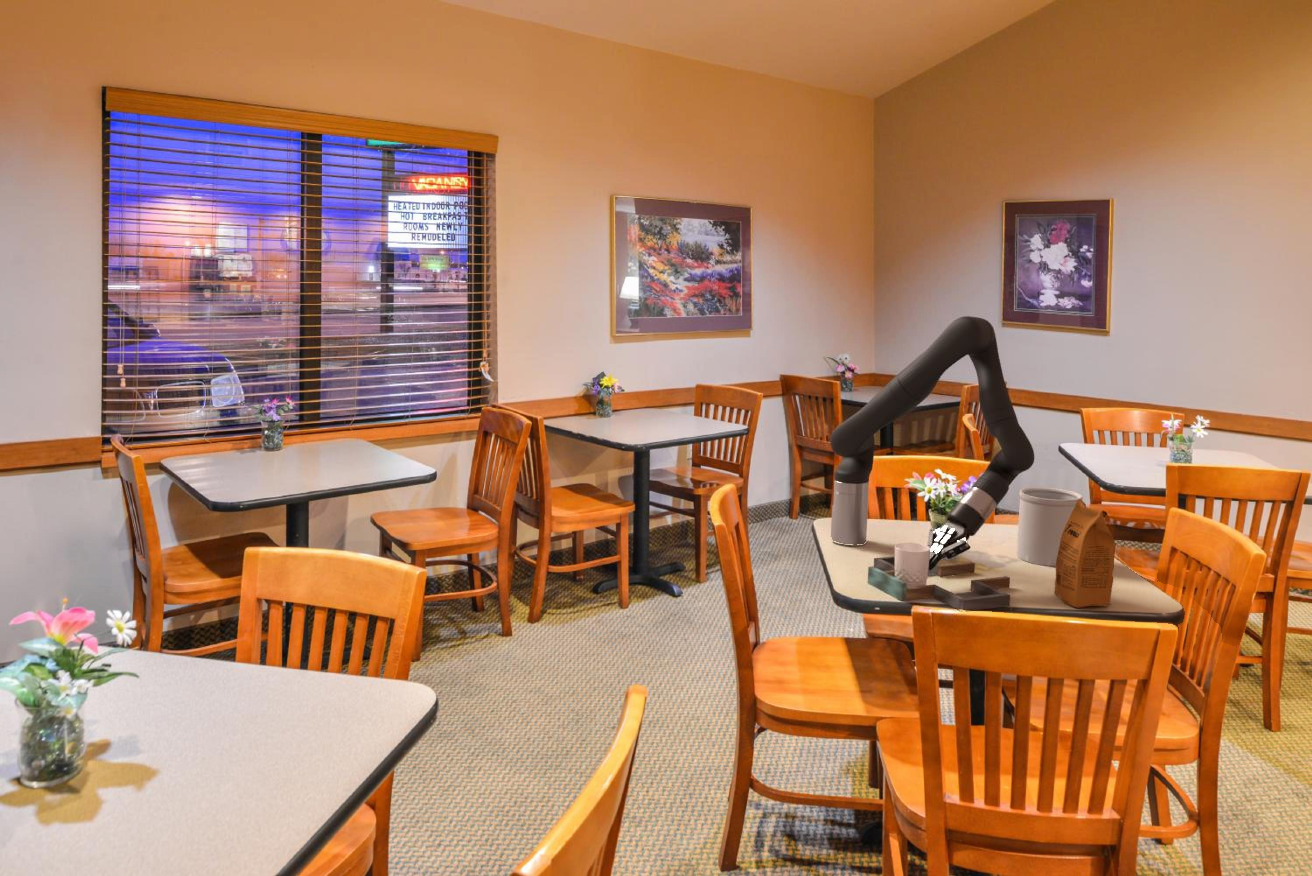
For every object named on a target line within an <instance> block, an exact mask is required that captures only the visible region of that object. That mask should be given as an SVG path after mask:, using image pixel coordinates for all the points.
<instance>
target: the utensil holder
mask: <svg viewBox="0 0 1312 876" xmlns="http://www.w3.org/2000/svg"><path fill="white" fill-rule="evenodd" d="M1078 500H1082V501H1083V495H1082V494H1080V493H1079V492H1076V491H1072V490H1068V489H1064V488H1063V489H1062V488H1056V487H1047V486H1044V487H1043V486H1037V487H1036V486H1034V487H1033V486H1032V487H1031V486H1030V487H1024V488H1020V489H1019V507H1018V508H1019V509H1018V510H1019V511H1018V528H1017V541H1016V542H1017V546H1016V548H1017V549H1016V555H1017V558H1018V559H1020V560H1021V561H1024V562H1027V563H1031V564H1034V565H1039V566H1045V567H1056V559H1057V555H1058V550H1059V545H1060V540H1061V537H1062V533H1063V531H1064V528H1065V525H1066V523H1067V521H1068V520H1069V518H1070V515H1071V513H1072V511H1073V509H1074V508H1075V506H1076V503H1077V502H1078Z"/></svg>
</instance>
